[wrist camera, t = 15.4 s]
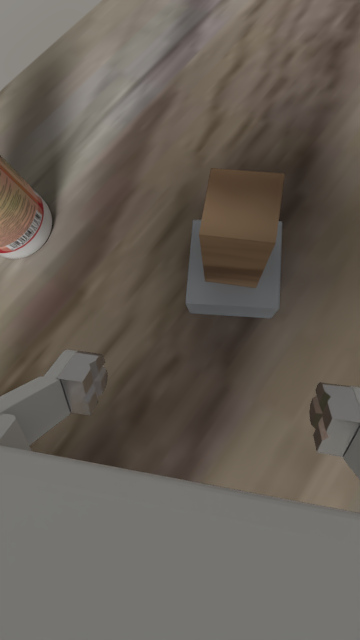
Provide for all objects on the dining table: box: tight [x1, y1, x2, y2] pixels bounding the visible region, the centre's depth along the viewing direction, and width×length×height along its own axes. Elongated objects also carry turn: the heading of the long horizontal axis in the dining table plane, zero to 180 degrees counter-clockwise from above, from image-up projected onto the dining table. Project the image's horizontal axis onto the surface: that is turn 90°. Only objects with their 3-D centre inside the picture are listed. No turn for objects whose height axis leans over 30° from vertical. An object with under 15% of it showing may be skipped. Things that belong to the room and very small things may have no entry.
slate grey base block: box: [186, 220, 282, 318], centre depth 32 cm, size 9×9×5 cm
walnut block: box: [199, 168, 285, 288], centre depth 25 cm, size 5×5×10 cm
